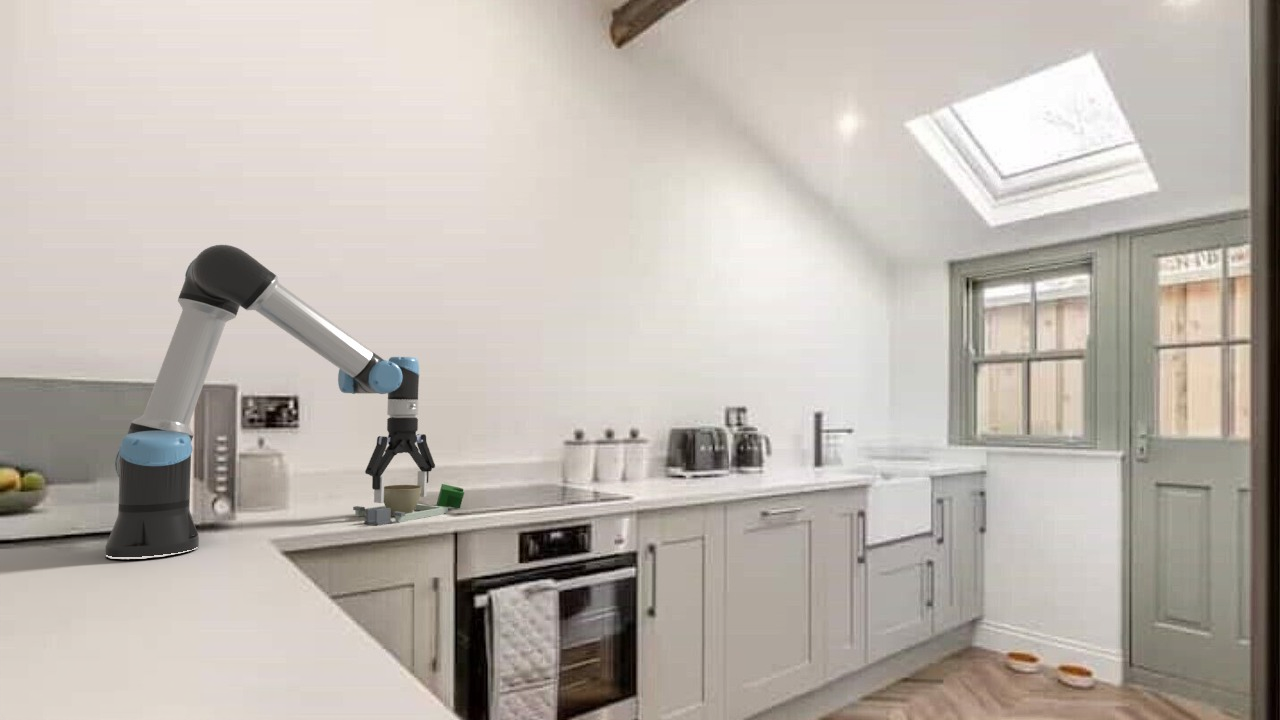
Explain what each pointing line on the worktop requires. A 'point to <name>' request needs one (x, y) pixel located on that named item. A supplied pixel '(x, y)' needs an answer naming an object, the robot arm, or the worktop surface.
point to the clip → (378, 516)
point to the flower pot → (401, 497)
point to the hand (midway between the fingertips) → (401, 499)
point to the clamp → (450, 496)
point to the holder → (401, 516)
